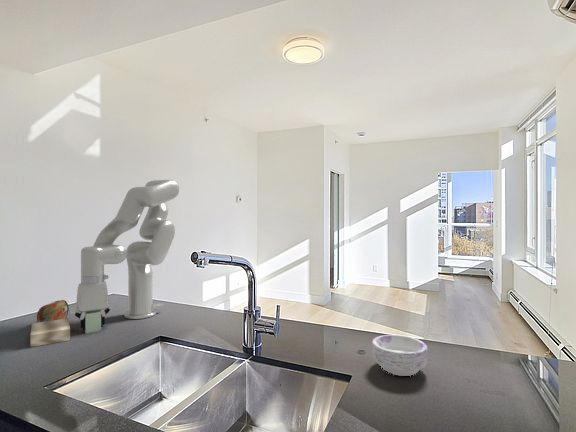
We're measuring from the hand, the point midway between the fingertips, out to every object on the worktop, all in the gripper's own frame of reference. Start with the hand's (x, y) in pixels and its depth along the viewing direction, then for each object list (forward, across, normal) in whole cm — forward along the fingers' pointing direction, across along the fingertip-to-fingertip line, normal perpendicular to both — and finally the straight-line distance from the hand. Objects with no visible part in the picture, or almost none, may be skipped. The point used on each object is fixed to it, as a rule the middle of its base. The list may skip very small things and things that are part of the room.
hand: (92, 327), depth 130 cm
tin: (+1, +12, -17) cm, 21 cm away
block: (+1, 0, 0) cm, 1 cm away
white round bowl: (+1, -69, +85) cm, 109 cm away
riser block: (+1, +13, 0) cm, 13 cm away
